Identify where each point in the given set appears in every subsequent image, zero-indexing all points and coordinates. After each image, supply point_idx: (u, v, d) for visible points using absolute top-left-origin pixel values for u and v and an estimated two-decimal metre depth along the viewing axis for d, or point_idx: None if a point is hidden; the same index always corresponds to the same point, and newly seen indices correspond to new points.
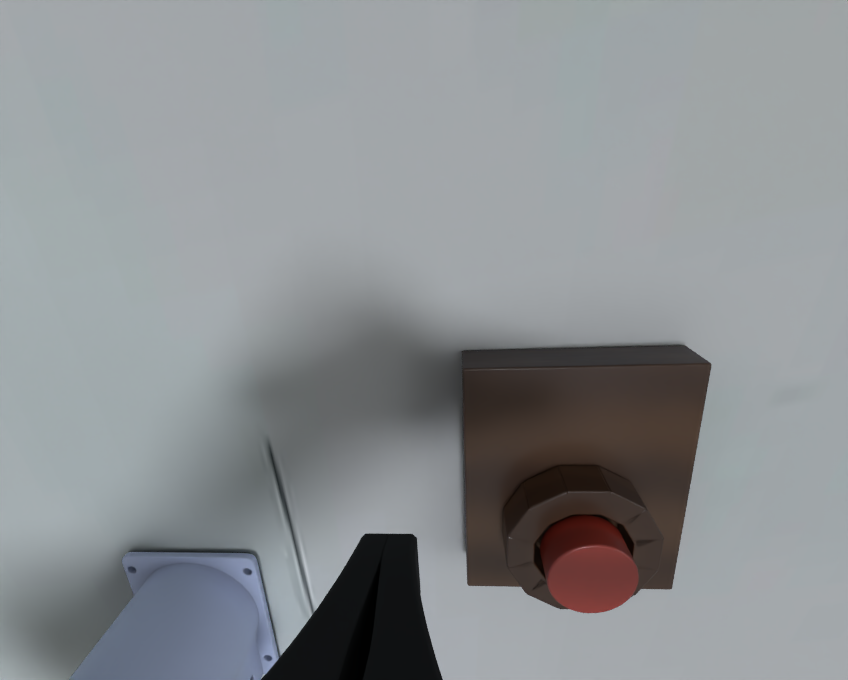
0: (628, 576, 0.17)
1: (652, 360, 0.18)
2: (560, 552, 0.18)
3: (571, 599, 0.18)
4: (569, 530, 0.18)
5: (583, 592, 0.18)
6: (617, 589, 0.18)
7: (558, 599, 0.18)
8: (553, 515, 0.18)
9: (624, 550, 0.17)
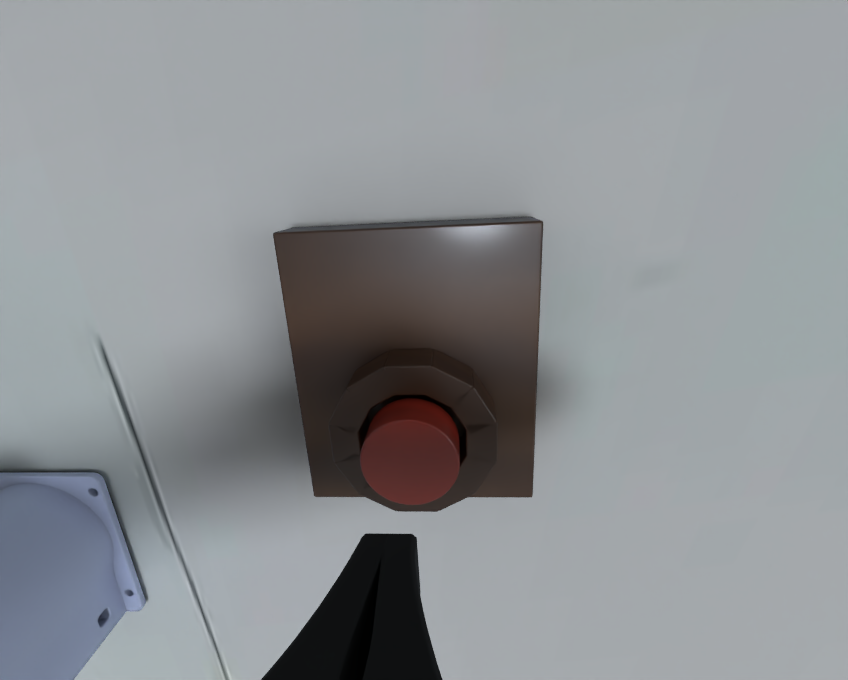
0: (447, 458, 0.16)
1: (482, 222, 0.16)
2: (371, 431, 0.16)
3: (389, 488, 0.16)
4: (388, 411, 0.16)
5: (401, 479, 0.16)
6: (437, 474, 0.16)
7: (375, 488, 0.16)
8: (373, 396, 0.16)
9: (440, 427, 0.15)
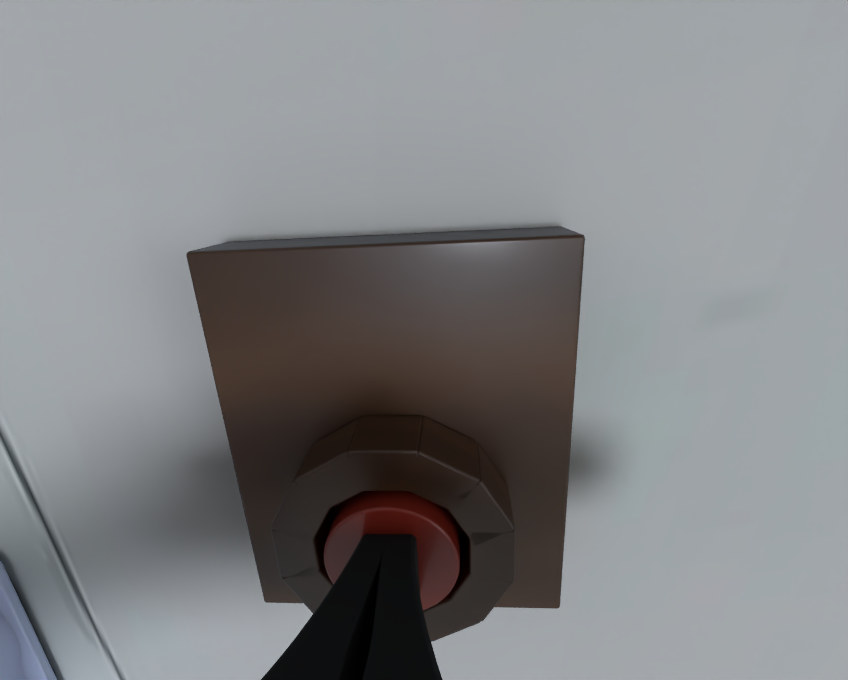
0: (442, 557, 0.11)
1: (493, 236, 0.11)
2: (338, 520, 0.11)
3: None
4: None
5: None
6: (429, 578, 0.12)
7: None
8: (333, 492, 0.11)
9: (433, 517, 0.11)
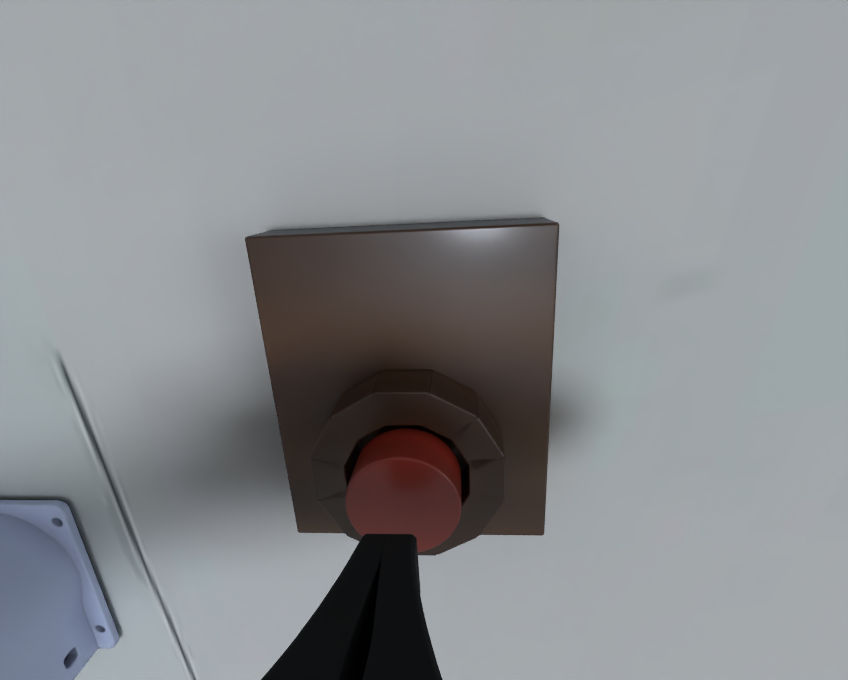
0: (446, 501, 0.13)
1: (487, 224, 0.14)
2: (358, 470, 0.13)
3: None
4: (378, 444, 0.14)
5: (393, 524, 0.14)
6: (435, 519, 0.14)
7: (363, 534, 0.14)
8: (361, 427, 0.14)
9: (439, 466, 0.13)
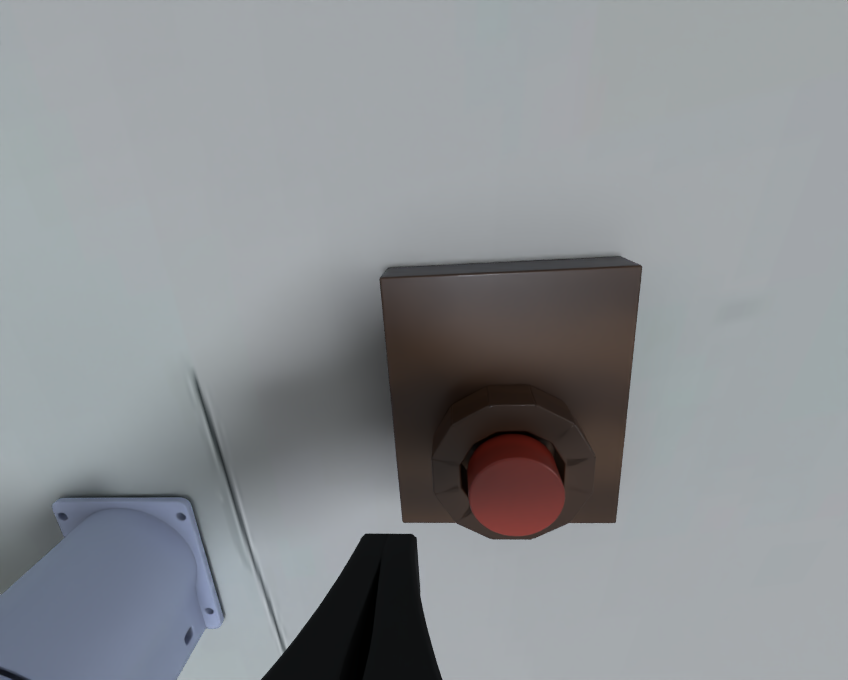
0: (553, 493, 0.16)
1: (581, 265, 0.17)
2: (481, 468, 0.16)
3: (495, 520, 0.17)
4: (493, 447, 0.17)
5: (507, 512, 0.17)
6: (543, 508, 0.17)
7: (482, 521, 0.17)
8: (477, 433, 0.17)
9: (548, 464, 0.16)
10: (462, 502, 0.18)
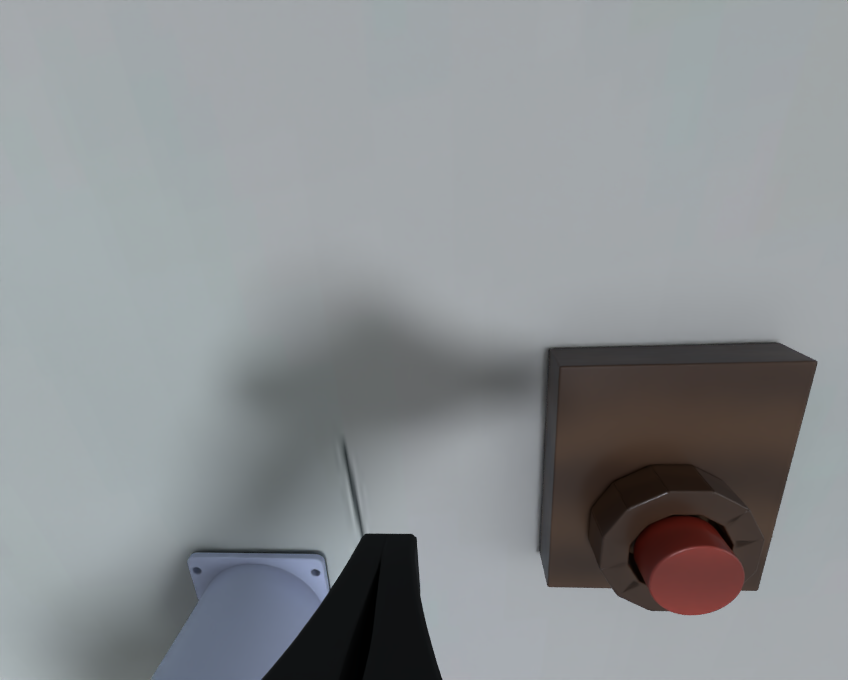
0: (734, 578, 0.17)
1: (754, 358, 0.18)
2: (664, 553, 0.17)
3: (672, 601, 0.18)
4: (670, 531, 0.18)
5: (685, 594, 0.18)
6: (721, 591, 0.17)
7: (659, 601, 0.18)
8: (652, 515, 0.18)
9: (731, 551, 0.17)
10: (627, 577, 0.19)
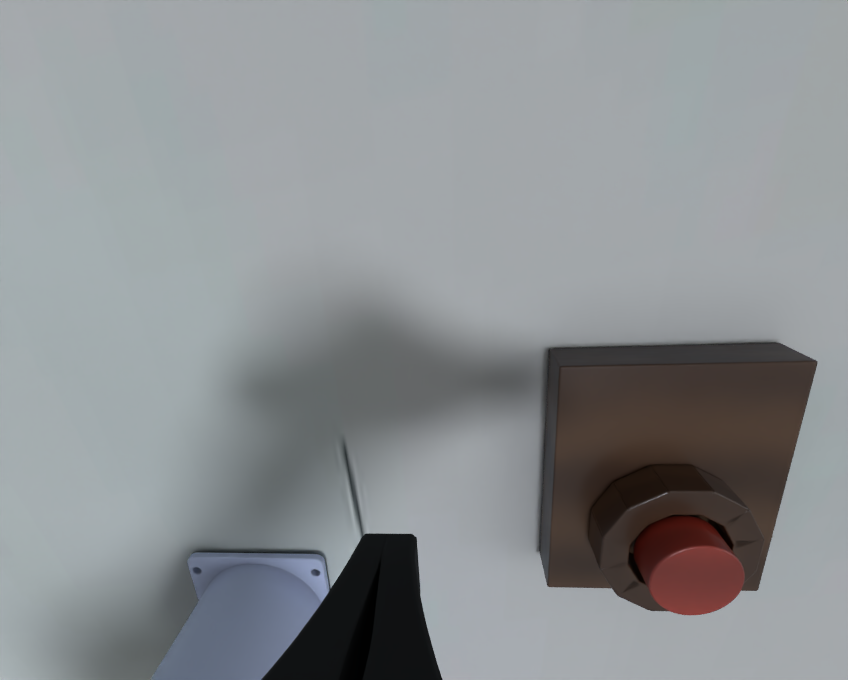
0: (734, 578, 0.17)
1: (754, 358, 0.18)
2: (664, 553, 0.17)
3: (672, 601, 0.18)
4: (670, 531, 0.18)
5: (685, 594, 0.18)
6: (721, 591, 0.17)
7: (659, 601, 0.18)
8: (652, 515, 0.18)
9: (731, 551, 0.17)
10: (627, 577, 0.19)
